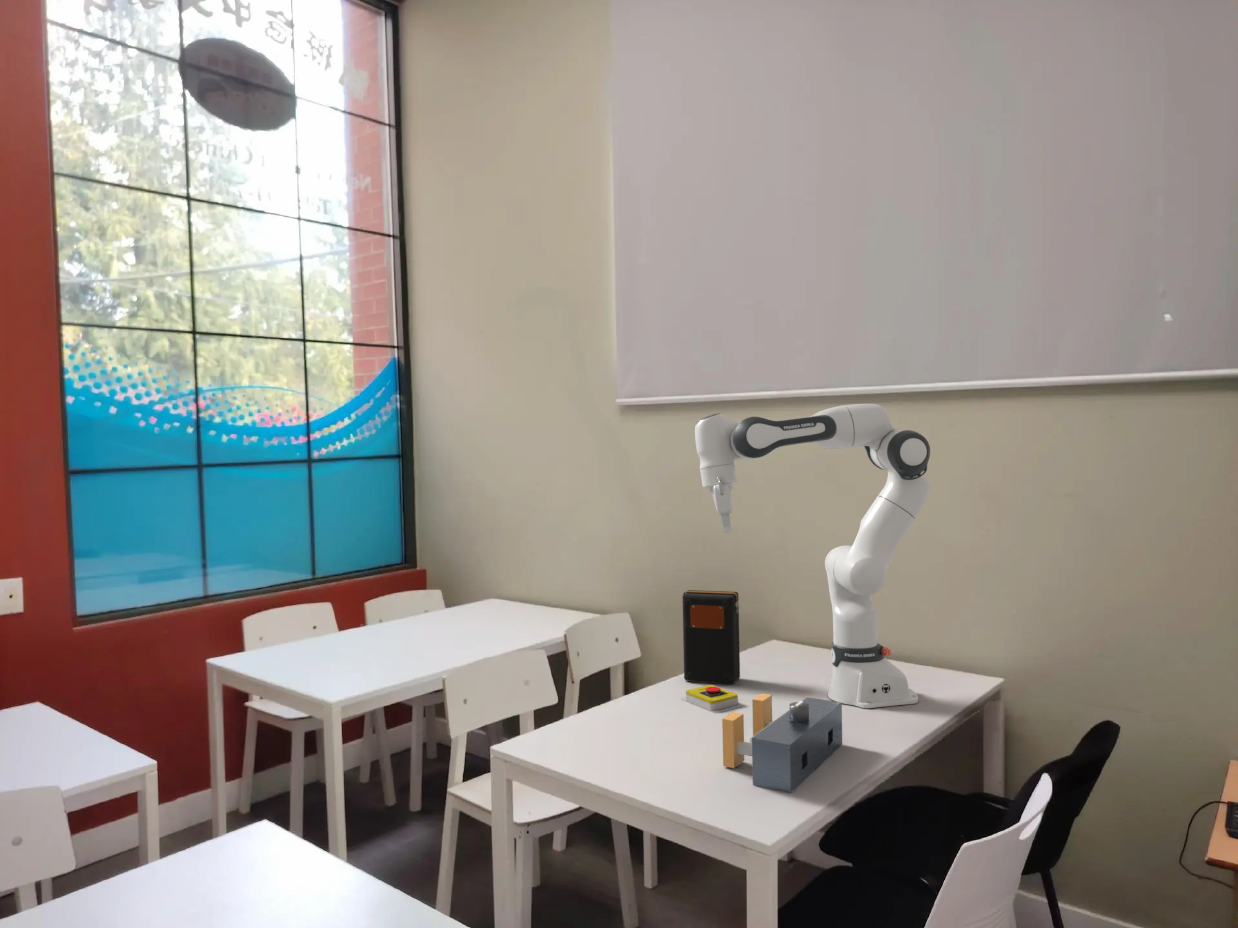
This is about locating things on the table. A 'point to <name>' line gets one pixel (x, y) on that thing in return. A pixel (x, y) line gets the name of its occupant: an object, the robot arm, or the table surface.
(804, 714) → the dial
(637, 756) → the table surface
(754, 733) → the knob
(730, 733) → the knob
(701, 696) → the emergency button
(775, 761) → the mount
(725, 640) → the black box
